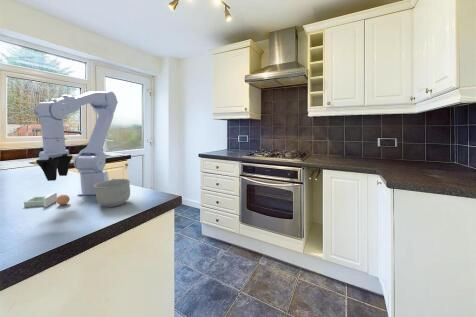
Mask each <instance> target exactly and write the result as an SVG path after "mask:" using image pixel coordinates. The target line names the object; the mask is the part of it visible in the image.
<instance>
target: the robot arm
mask: <svg viewBox="0 0 476 317" xmlns="http://www.w3.org/2000/svg"><path fill="white" fill-rule="evenodd" d="M116 96H117V95H116V94H115V92H113V91H111V90H108V91H86V92H85V93H83V94H80V95H77V96H73V95H69V94H62V95H61V97H59V98H51V99H50V101H40V102H39V103H37V104H36V106H35V108H34V109H33V113H34V114H35V116H36V117H37V118H38V123H40V124H39V125H40V130H41V138H42V148H43V151H39V153H38V159H36V160H35V163H36V164H37V165H38V166H39V167H40V169H42V170H41V171H42V172H43V175H44V176H45V179H46V180H47V182H51V181H52V182H54V181H57V176H59V177H64V176H65V177H66V176H67V177H68V173H69V167H70V164H71V161H72V160H73V157H74V156H73V155H72V154H71V155H70V151H69V149H66V140H65V138H66V137H65V129H64V128H65V127H64V120H65V119H66V118H67V116H68V115H70V114H73V113H75V112H78V111H79V110H80V108H81V106H84V105H88V104H89V105H90V106H91V108H92V109H93V111H94V113H95V114H97V115H98V116H97V119H96V121H95V124H94V127H93V130H92V131H91V134H90V137H89V141H88V142H87V143H88V144H87V146H86V147H85V148H83V149H81V150H80V151H79V152H78V154H77V155H76V156H75V158H74V160H73V166H74V168H75V169H76V170H77V172H78V173H79V175H80V176H79V177H80V178H79V179H80V187H81V188H80V189H81V191H80V192H79V193H77V196H89V195H90V196H91V195H96V193H95V188H94V185H95V184H97V183H100V182H103V181H108V180H110V179H109V173H108V171H106V170H104V169H105V166H106V159H107V154H106V153H105V152H104V151H103V148H104V144H105V142H106V141H107V140H106V139H107V137H108V134H109V130H110V128H111V124H112V122H113V120H114V119H113V118H114V113H115V111H116V108H117V106H118V99H117V97H116ZM57 173H58V174H57Z"/></svg>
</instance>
